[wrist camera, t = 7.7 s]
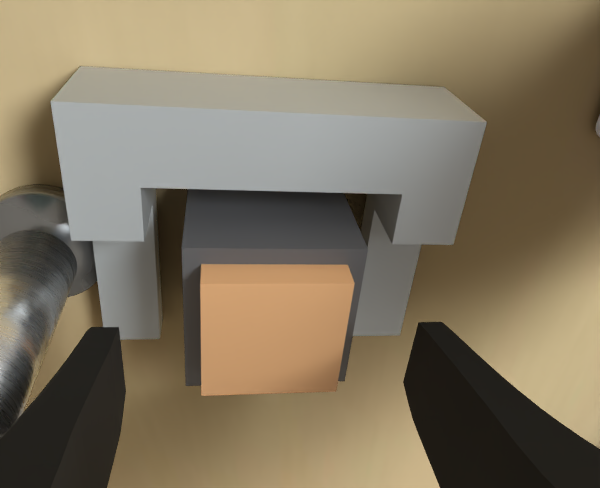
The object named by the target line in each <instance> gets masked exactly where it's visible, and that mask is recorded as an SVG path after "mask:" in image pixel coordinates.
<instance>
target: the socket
mask: <svg viewBox="0 0 600 488" xmlns="http://www.w3.org/2000/svg"><path fill="white" fill-rule="evenodd" d="M51 108H52V115H53V121H54V128H55V135H56V141H57V148H58V155H59V162H60V168H61V175H62V182H63V188H64V195H65V202H66V209H67V215H68V222H69V229H70V235H71V241H92V242H93V250H94V258H95V266H96V274H97V282H98V289H99V297H100V305H101V313H102V321H103V327H119V332H120V340H130V339H160V336H161V328H162V321H163V316H162V297H161V278H160V259H159V240H158V221H157V202H156V188H171V189H210V190H249V191H288V192H327V193H366V194H367V197H366V203H365V209H364V215H363V220H362V226H361V234H362V236H363V239H364V241H365V243H366V246H367V248H368V253H367V259H366V264H365V270H364V275H363V281H362V287H361V292H360V298H359V303H358V309H357V315H356V320H355V326H354V331H353V336H391V335H400V332H401V328H402V324H403V320H404V316H405V312H406V307H407V303H408V299H409V295H410V291H411V287H412V282H413V278H414V274H415V270H416V266H417V262H418V257H419V253H420V249H421V245H453V244H454V240H455V237H456V233H457V229H458V226H459V222H460V219H461V215H462V211H463V208H464V204H465V200H466V197H467V193H468V189H469V186H470V182H471V179H472V175H473V171H474V168H475V164H476V160H477V157H478V153H479V149H480V146H481V142H482V139H483V135H484V131H485V128H486V124H487V122H486V121H485V120H484V119H483V118H481V117H480V116H479V115H478V114H477V113H475V112H474V111H473V110H472V109H470V108H469V107H468V106H467V105H466V104H464V103H463V102H462V101H461V100H459V99H458V98H457V97H456V96H455V95H453V94H452V93H451V92H450V91H449V90H447V89H446V88H445V87H436V86H418V85H401V84H384V83H366V82H349V81H331V80H314V79H296V78H279V77H262V76H244V75H227V74H209V73H192V72H174V71H157V70H139V69H122V68H105V67H87V66H80V67H79V68H78V70H77V71H76V72H75V73H74V74H73V75H72V77H71V78H70V79H69V80H68V81H67V82H66V84H65V85H64V86H63V87H62V88H61V90H60V91H59V92H58V93H57V94H56V95H55V97H54V98H53V99H52V100H51Z"/></svg>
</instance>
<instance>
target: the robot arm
mask: <svg viewBox="0 0 600 488" xmlns="http://www.w3.org/2000/svg"><path fill="white" fill-rule="evenodd" d="M596 133H597V135H598V136H599V137H600V115H599V118H598V120H597V123H596ZM403 383H404V387H405V391H406V395H407V399H408V403H409V407H410V411H411V414H412V418H413V421H414V424H415V426H416V429H417V431H418V434H419V436H420V439H421V441H422V444H423V446H424V449H425V451H426V454H427V456H428V459H429V461H430V464H431V466H432V469H433V471H434V474H435V476H436V479H437V481H438V483H439V486H440V488H600V449H599V448H597V447H596V446H594V445H592V444H591V443H589V442H588V441H586V440H585V439H583V438H582V437H580V436H579V435H577V434H576V433H574V432H573V431H572V430H570V429H569V428H567V427H566V426H564V425H563V424H561V423H560V422H559V421H557V420H556V419H554V418H553V417H552V416H550V415H549V414H548V413H546V412H545V411H544V410H542V409H541V408H540V407H538V406H537V405H536V404H535V403H533V402H532V401H531V400H530V399H528V398H527V397H526V396H525V395H523V394H522V393H521V392H520V391H518V390H517V389H516V388H515V387H514V386H513V385H511V384H510V383H509V382H508V381H507V380H505V379H504V378H503V377H502V376H501V375H500V374H499V373H497V372H496V371H495V370H494V369H493V368H492V367H491V366H490V365H489V364H487V363H486V362H485V361H484V360H483V359H482V358H481V357H480V356H479V355H478V354H476V353H475V352H474V351H473V350H472V349H471V348H470V347H469V346H468V345H467V344H466V343H465V342H463V341H462V340H461V339H460V338H459V337H458V336H457V335H456V334H455V333H454V332H453V331H452V330H450V329H449V328H448V327H447V326H446V325H445V324H444V323H442V322H419V323H418V327H417V331H416V335H415V338H414V342H413V346H412V350H411V354H410V358H409V362H408V366H407V370H406V373H405V377H404V381H403ZM125 393H126V389H125V380H124V370H123V361H122V351H121V342H120V332H119V327H91V328H90V329H89V330H88V331H86V333H85V334H84V336H83V337H82V339H81V340H80V342H79V343H78V345H77V346H76V347H75V349H74V350H73V352H72V353H71V354H70V356H69V357H68V358H67V360H66V361H65V362H64V364H63V365H62V366H61V368H60V369H59V370H58V372H57V373H56V374H55V375H54V377H53V378H52V379H51V380H50V382H49V383H48V384H47V385H46V387H45V388H44V389H43V390H42V392H41V393H40V394H39V395H38V396H37V398H36V399H35V400H34V401H33V402H32V403H31V405H30V406H29V407H28V408H27V409H26V410H25V411H24V412H23V413H22V415H21V416H20V417H19V418H18V419H17V420H16V421H15V422H14V423H13V425H12V426H11V427H10V428H9V429H8V430H7V431H6V432H5V433H4V434H3V435H2V436H1V437H0V488H107V485H108V481H109V477H110V473H111V469H112V465H113V461H114V457H115V453H116V449H117V445H118V441H119V437H120V432H121V425H122V417H123V409H124V401H125Z"/></svg>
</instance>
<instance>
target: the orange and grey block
mask: <svg viewBox="0 0 600 488" xmlns="http://www.w3.org/2000/svg"><path fill="white" fill-rule="evenodd" d="M367 253H368V248H367V246H366V243H365V241H364V239H363V236H362V234H361V232H360V229H359V227H358V225H357V222H356V220H355V218H354V215H353V213H352V211H351V208H350V206H349V204H348V201H347V199H346V197H345V194H344V193H327V192H288V191H249V190H210V189H188V194H187V203H186V212H185V221H184V231H183V240H182V278H183V311H184V344H185V377H186V386H200V385H201V396H212V395H242V394H272V393H303V392H333V391H336V390H337V384H338V381H345V376H346V370H347V365H348V359H349V354H350V348H351V342H352V337H353V331H354V326H355V320H356V315H357V309H358V303H359V298H360V292H361V287H362V281H363V275H364V270H365V264H366V259H367Z"/></svg>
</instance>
